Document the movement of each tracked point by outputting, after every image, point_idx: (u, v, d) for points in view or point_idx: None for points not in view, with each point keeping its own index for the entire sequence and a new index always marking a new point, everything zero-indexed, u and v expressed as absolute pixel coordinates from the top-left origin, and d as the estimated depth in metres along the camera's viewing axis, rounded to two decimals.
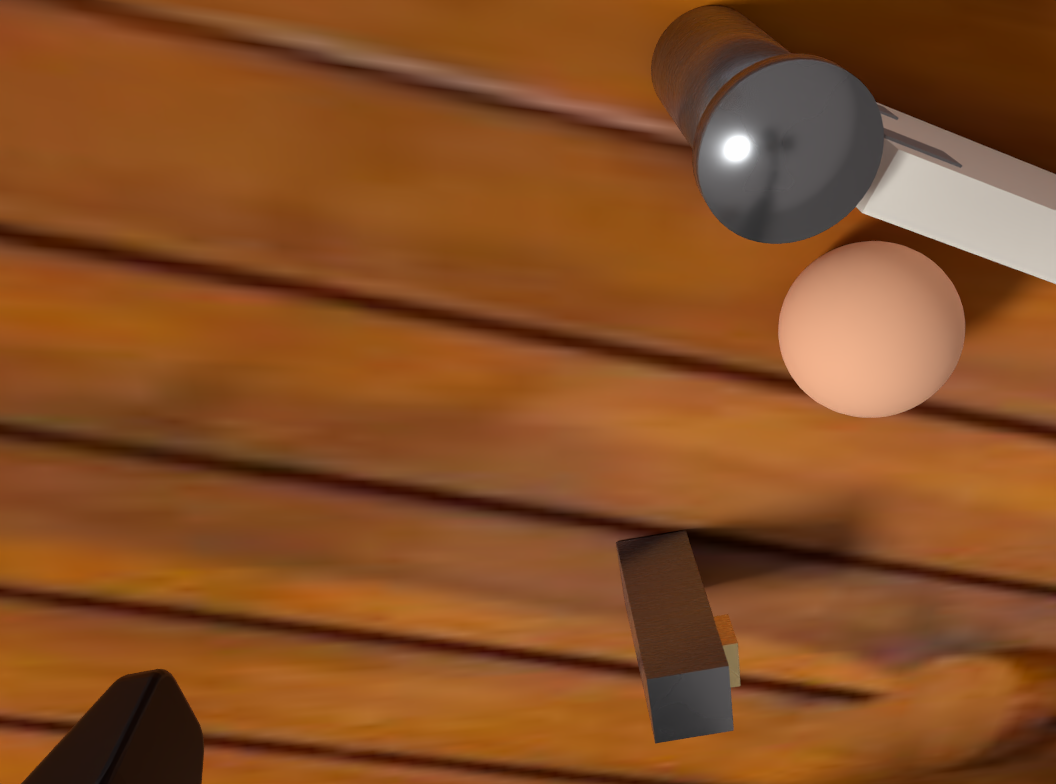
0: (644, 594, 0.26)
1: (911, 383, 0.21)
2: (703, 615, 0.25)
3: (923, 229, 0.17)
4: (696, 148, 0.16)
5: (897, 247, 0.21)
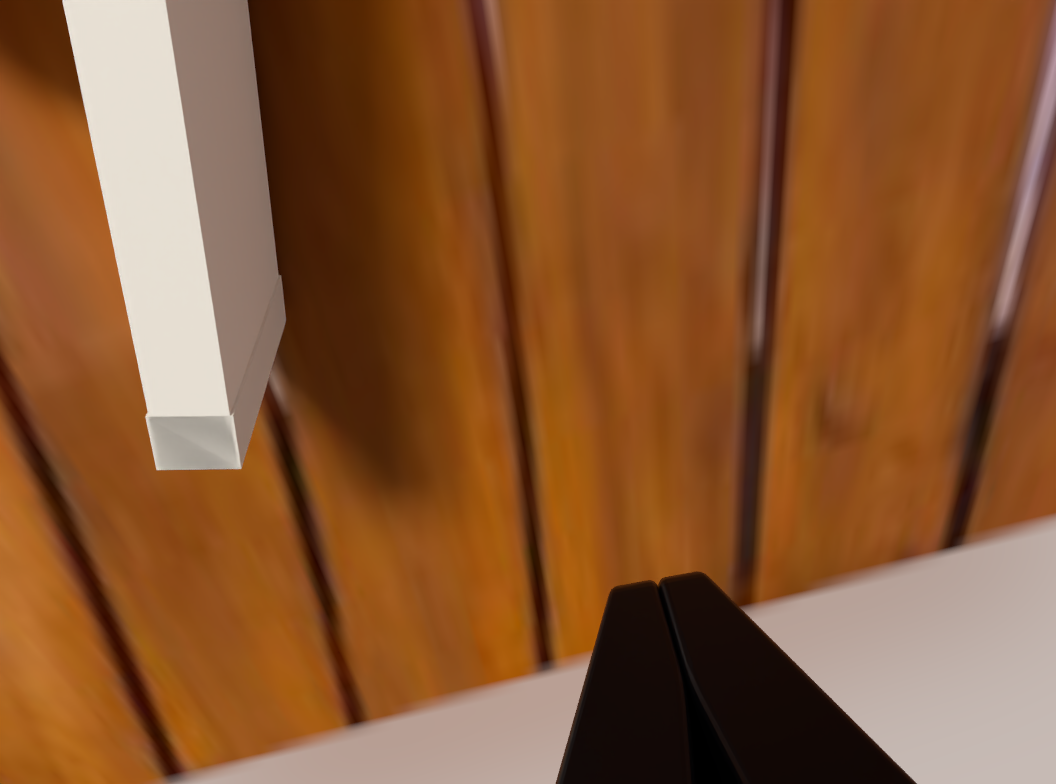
0: None
1: None
2: None
3: None
4: None
5: None
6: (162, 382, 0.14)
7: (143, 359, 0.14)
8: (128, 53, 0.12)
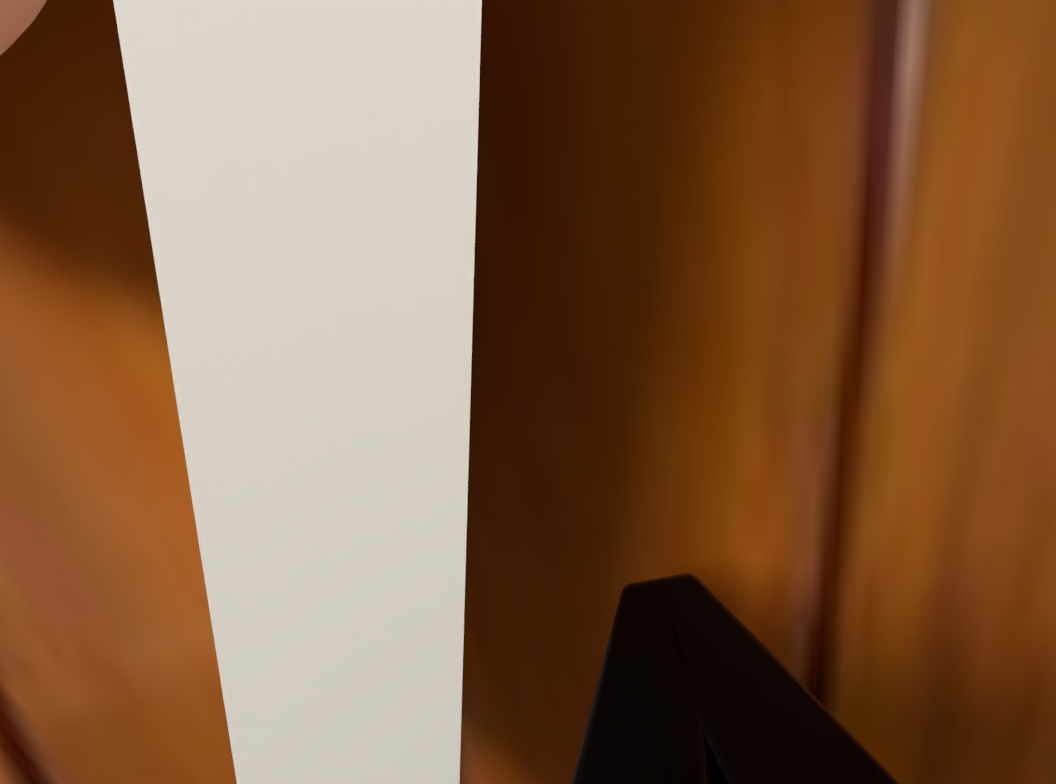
0: None
1: None
2: None
3: None
4: None
5: None
6: None
7: None
8: (338, 397, 0.04)
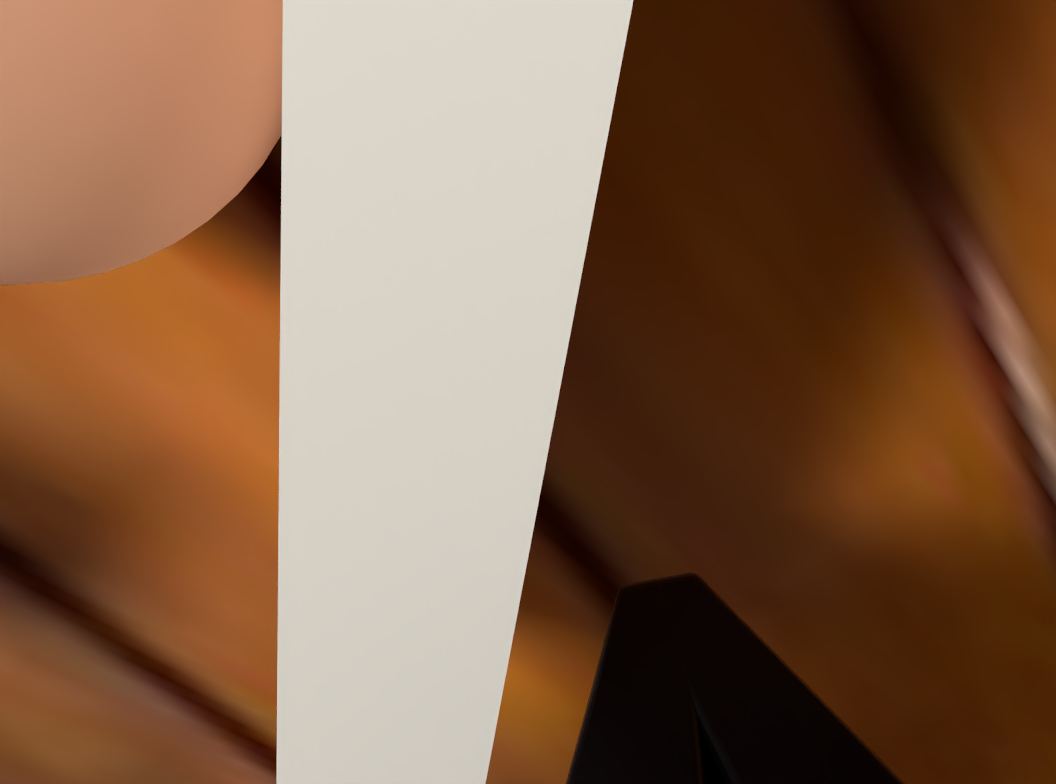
0: None
1: None
2: None
3: None
4: None
5: None
6: None
7: None
8: (446, 271, 0.04)
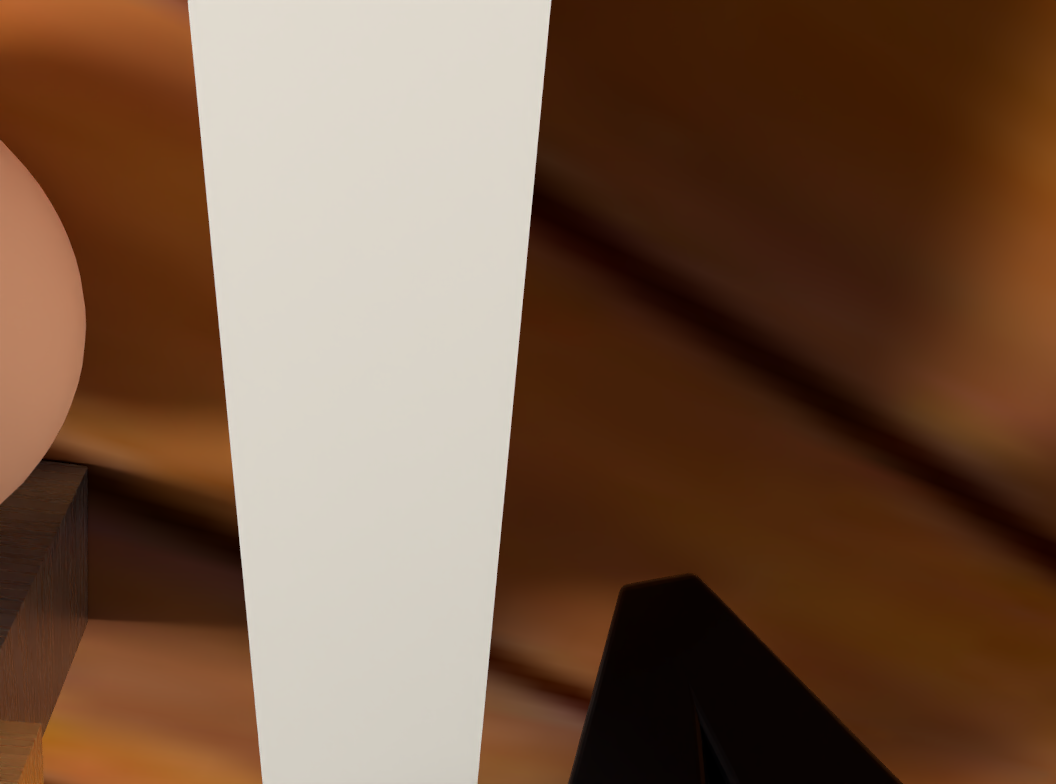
0: None
1: None
2: None
3: None
4: None
5: None
6: None
7: None
8: (385, 334, 0.04)
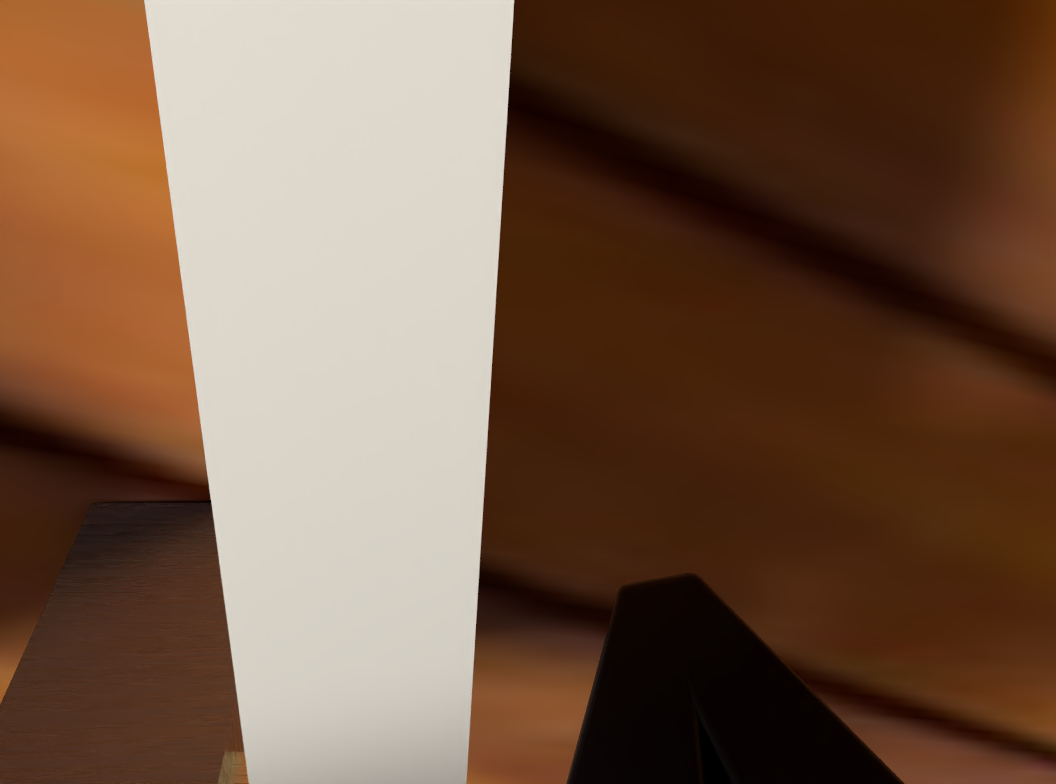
0: (72, 654, 0.09)
1: None
2: (195, 751, 0.08)
3: None
4: None
5: None
6: None
7: None
8: (358, 354, 0.04)
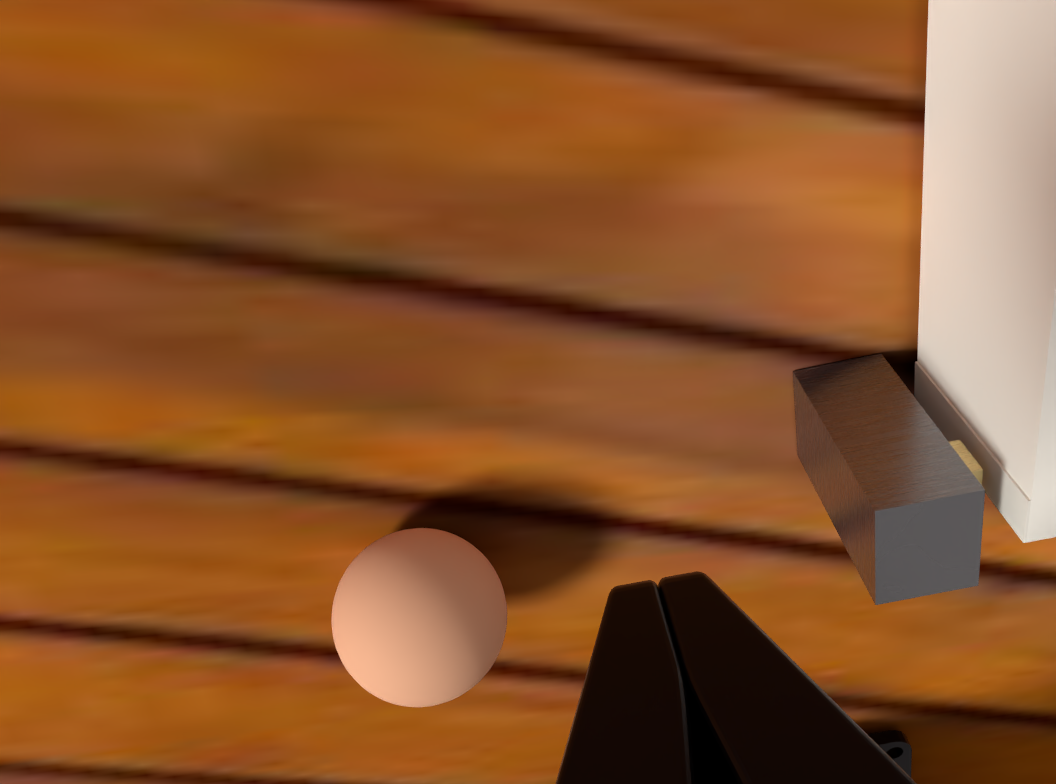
0: (845, 421, 0.20)
1: None
2: (931, 438, 0.19)
3: None
4: None
5: None
6: (1051, 471, 0.17)
7: (1042, 455, 0.17)
8: None
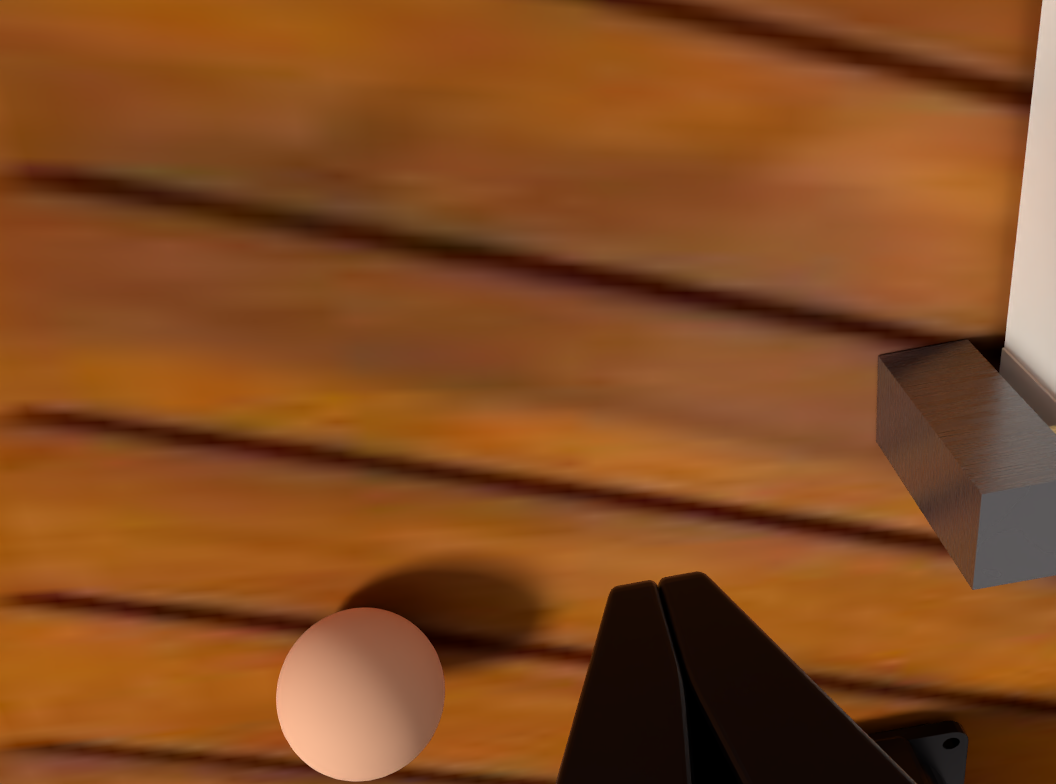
0: (939, 405, 0.20)
1: (429, 711, 0.23)
2: (1031, 423, 0.19)
3: None
4: None
5: (361, 608, 0.24)
6: None
7: None
8: None
